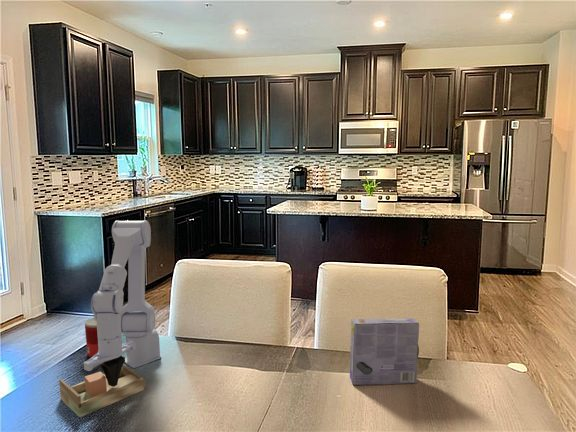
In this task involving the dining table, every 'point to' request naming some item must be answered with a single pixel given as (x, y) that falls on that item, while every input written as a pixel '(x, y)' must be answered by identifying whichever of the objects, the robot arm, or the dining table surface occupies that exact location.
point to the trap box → (85, 404)
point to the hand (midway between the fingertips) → (112, 384)
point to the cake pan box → (384, 351)
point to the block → (95, 384)
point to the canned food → (91, 337)
